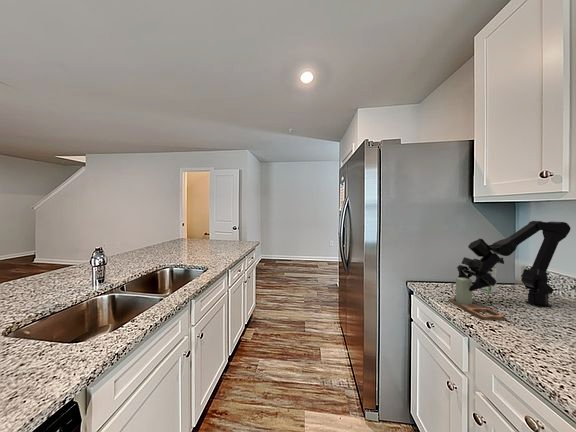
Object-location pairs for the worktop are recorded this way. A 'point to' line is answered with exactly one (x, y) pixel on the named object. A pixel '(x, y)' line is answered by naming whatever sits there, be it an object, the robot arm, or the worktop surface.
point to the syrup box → (491, 288)
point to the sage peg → (463, 291)
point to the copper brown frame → (478, 310)
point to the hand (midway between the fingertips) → (462, 287)
